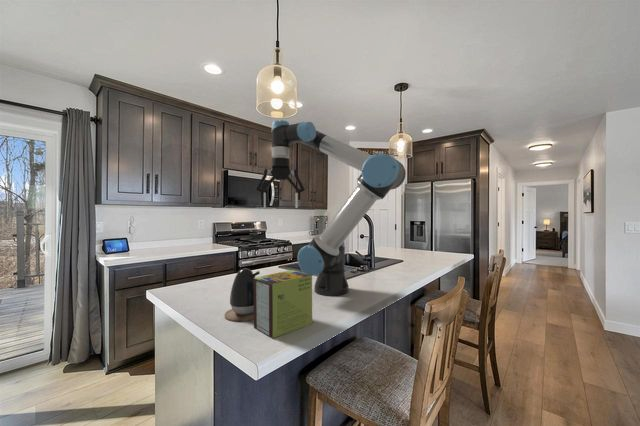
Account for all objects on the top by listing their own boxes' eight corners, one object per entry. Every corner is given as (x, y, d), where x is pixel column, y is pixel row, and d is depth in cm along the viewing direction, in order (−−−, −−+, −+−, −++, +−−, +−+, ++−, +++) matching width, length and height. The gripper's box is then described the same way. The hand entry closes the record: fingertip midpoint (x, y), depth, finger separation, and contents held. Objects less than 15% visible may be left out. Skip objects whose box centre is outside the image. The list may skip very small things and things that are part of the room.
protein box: (313, 323, 88) (312, 274, 88) (272, 339, 77) (272, 283, 77) (292, 314, 95) (292, 269, 95) (252, 328, 84) (252, 277, 84)
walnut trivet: (264, 306, 103) (264, 305, 103) (263, 320, 90) (263, 318, 90) (228, 308, 101) (228, 307, 101) (221, 323, 88) (221, 321, 88)
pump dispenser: (253, 319, 90) (252, 272, 89) (223, 316, 92) (223, 270, 92) (265, 308, 100) (265, 265, 99) (239, 306, 102) (238, 264, 102)
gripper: (308, 160, 124) (308, 207, 124) (251, 159, 120) (251, 208, 120) (310, 157, 117) (310, 207, 117) (249, 155, 113) (250, 207, 113)
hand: (280, 208), depth 119 cm, fingers open, 13 cm apart
